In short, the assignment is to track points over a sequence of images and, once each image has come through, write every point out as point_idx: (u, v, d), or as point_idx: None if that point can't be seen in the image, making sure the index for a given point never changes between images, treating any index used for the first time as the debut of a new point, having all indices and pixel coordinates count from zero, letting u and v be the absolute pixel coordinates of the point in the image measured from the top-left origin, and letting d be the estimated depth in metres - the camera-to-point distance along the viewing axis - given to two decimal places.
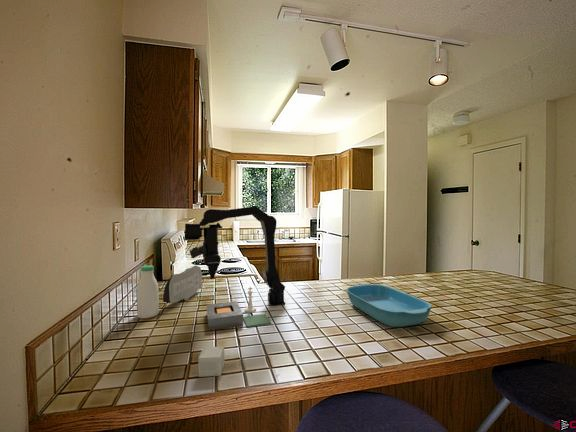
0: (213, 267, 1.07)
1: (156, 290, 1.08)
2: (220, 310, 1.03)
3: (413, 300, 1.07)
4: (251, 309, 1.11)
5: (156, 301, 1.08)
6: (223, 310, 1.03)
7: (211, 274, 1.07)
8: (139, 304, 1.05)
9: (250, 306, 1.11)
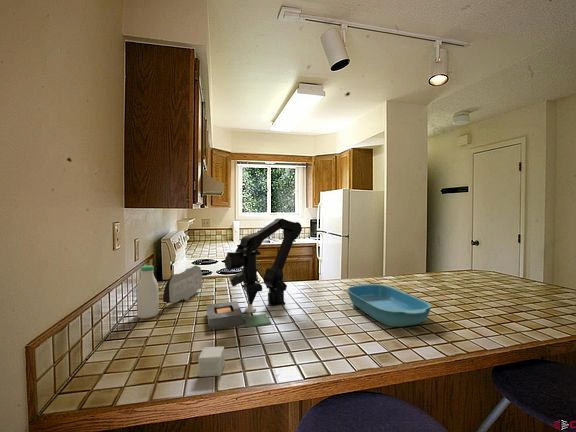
0: (252, 293, 1.10)
1: (156, 290, 1.08)
2: (220, 310, 1.03)
3: (413, 300, 1.07)
4: (251, 309, 1.11)
5: (156, 301, 1.08)
6: (223, 310, 1.03)
7: (250, 300, 1.10)
8: (139, 304, 1.05)
9: (250, 306, 1.11)
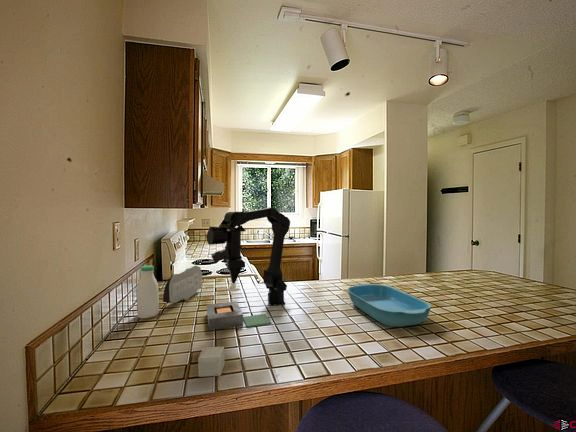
0: (235, 271, 1.04)
1: (156, 290, 1.08)
2: (220, 310, 1.03)
3: (414, 300, 1.07)
4: (234, 288, 1.05)
5: (156, 301, 1.08)
6: (223, 310, 1.03)
7: (233, 278, 1.04)
8: (139, 304, 1.05)
9: (233, 285, 1.05)
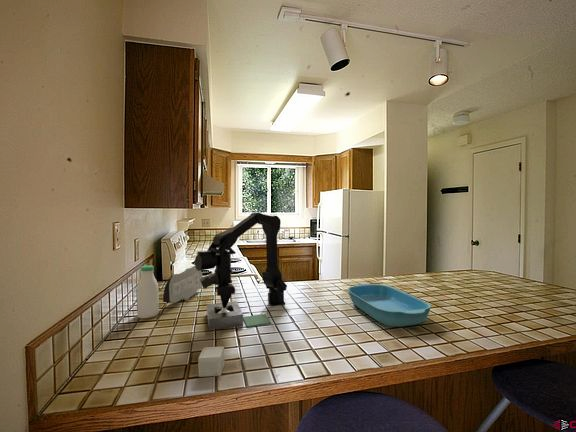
0: (225, 296, 1.01)
1: (156, 290, 1.08)
2: None
3: (414, 300, 1.07)
4: None
5: (156, 301, 1.08)
6: None
7: (223, 303, 1.01)
8: (139, 304, 1.05)
9: (224, 310, 1.02)
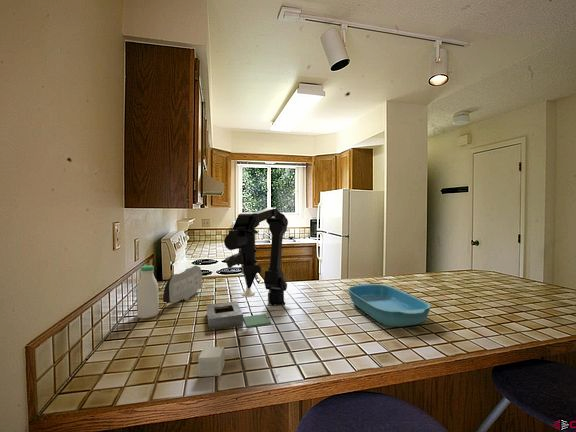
0: (250, 276, 0.99)
1: (156, 290, 1.08)
2: None
3: (414, 300, 1.07)
4: (249, 293, 1.00)
5: (156, 301, 1.08)
6: None
7: (248, 283, 1.00)
8: (139, 304, 1.05)
9: (248, 290, 1.01)
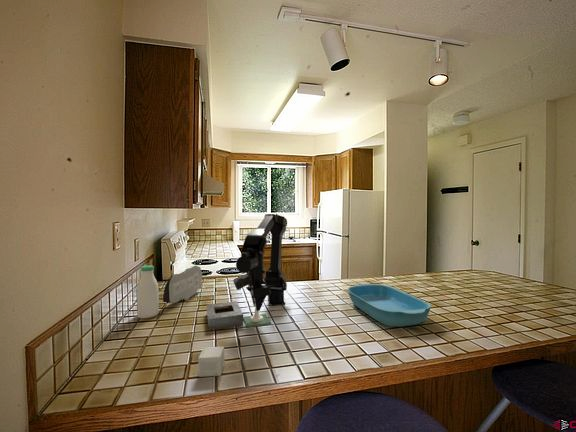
0: (260, 298, 0.98)
1: (156, 290, 1.08)
2: None
3: (414, 300, 1.07)
4: (258, 318, 1.00)
5: (156, 301, 1.08)
6: None
7: (257, 306, 0.98)
8: (139, 304, 1.05)
9: (257, 315, 1.00)
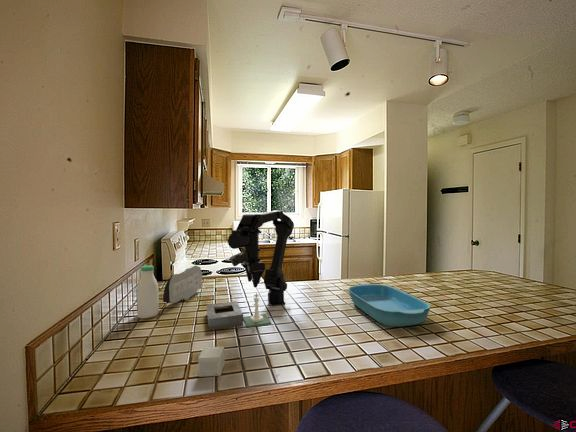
0: (257, 275, 1.02)
1: (156, 290, 1.08)
2: None
3: (414, 300, 1.06)
4: (258, 318, 1.00)
5: (156, 301, 1.08)
6: None
7: (255, 282, 1.02)
8: (139, 304, 1.05)
9: (257, 315, 1.00)
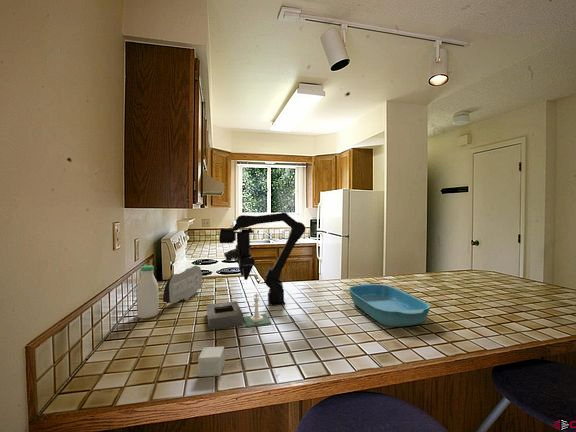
0: (247, 269, 1.15)
1: (156, 290, 1.08)
2: None
3: (414, 301, 1.06)
4: (258, 318, 1.00)
5: (156, 301, 1.08)
6: None
7: (245, 275, 1.15)
8: (139, 304, 1.05)
9: (256, 315, 1.00)
